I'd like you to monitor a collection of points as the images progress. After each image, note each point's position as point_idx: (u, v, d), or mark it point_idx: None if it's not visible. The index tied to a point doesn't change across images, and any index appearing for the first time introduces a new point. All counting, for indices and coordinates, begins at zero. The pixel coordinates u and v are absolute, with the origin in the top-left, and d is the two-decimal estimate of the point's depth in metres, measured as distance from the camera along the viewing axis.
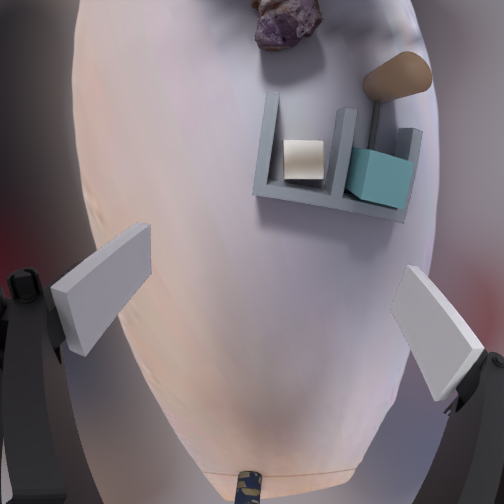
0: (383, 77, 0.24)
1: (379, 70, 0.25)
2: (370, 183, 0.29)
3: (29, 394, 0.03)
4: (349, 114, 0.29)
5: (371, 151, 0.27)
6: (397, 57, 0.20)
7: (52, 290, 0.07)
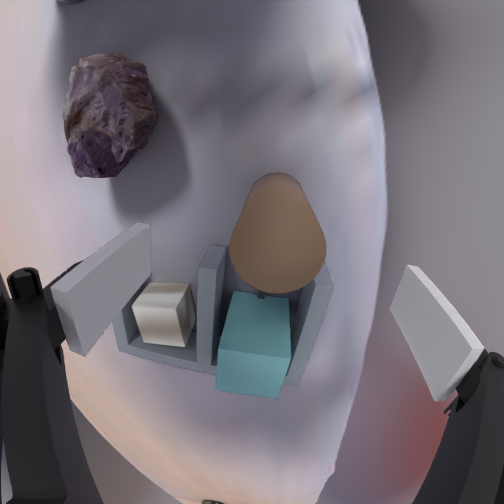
0: None
1: None
2: (224, 378, 0.23)
3: (29, 394, 0.03)
4: (205, 277, 0.23)
5: (219, 349, 0.21)
6: (238, 227, 0.14)
7: (52, 290, 0.07)
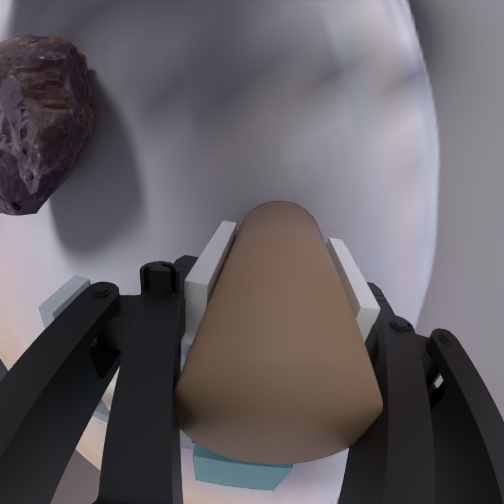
0: None
1: None
2: (205, 475, 0.14)
3: (151, 397, 0.04)
4: None
5: (195, 456, 0.12)
6: (182, 391, 0.05)
7: (186, 283, 0.08)
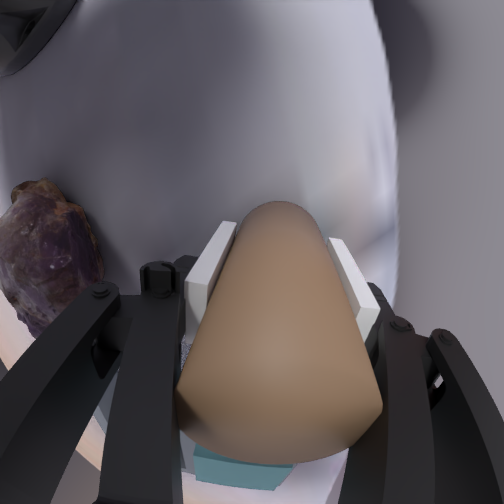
0: None
1: None
2: (205, 475, 0.14)
3: (151, 397, 0.04)
4: None
5: (195, 456, 0.12)
6: (182, 391, 0.05)
7: (186, 283, 0.08)
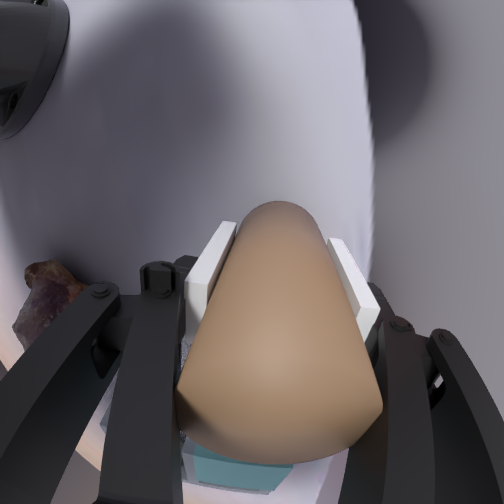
0: None
1: None
2: (206, 475, 0.14)
3: (152, 397, 0.04)
4: (187, 456, 0.22)
5: (195, 456, 0.12)
6: (182, 391, 0.05)
7: (186, 283, 0.08)
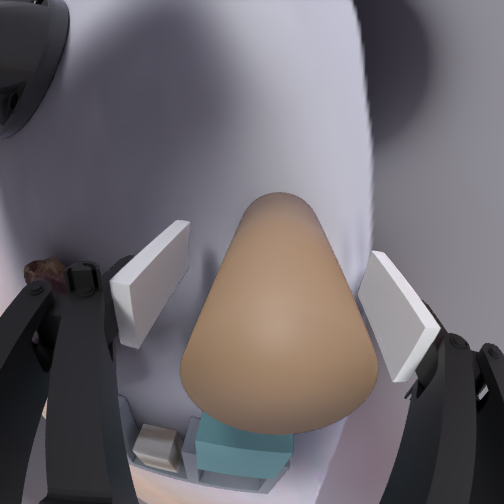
0: None
1: None
2: (207, 462, 0.15)
3: (81, 393, 0.04)
4: (187, 455, 0.22)
5: (197, 441, 0.13)
6: (192, 349, 0.06)
7: (111, 283, 0.08)
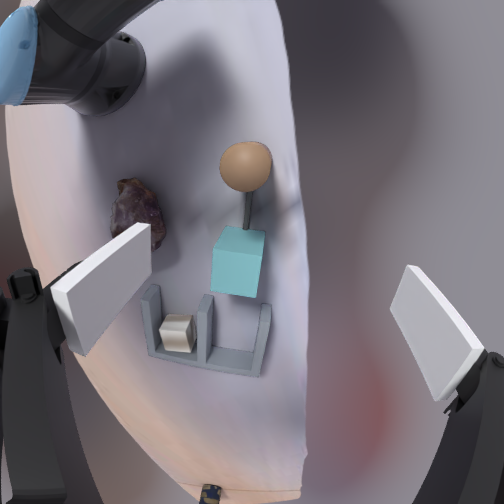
0: None
1: None
2: (217, 278, 0.34)
3: (29, 394, 0.03)
4: (201, 316, 0.42)
5: (214, 250, 0.33)
6: (224, 155, 0.25)
7: (52, 290, 0.07)
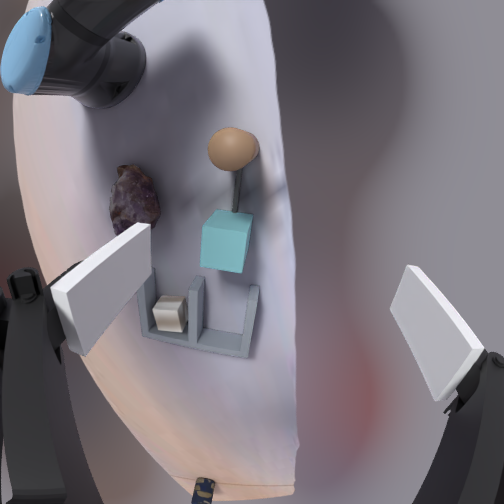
0: None
1: None
2: (205, 254, 0.37)
3: (29, 394, 0.03)
4: (192, 294, 0.45)
5: (203, 227, 0.36)
6: (211, 139, 0.28)
7: (52, 290, 0.07)
